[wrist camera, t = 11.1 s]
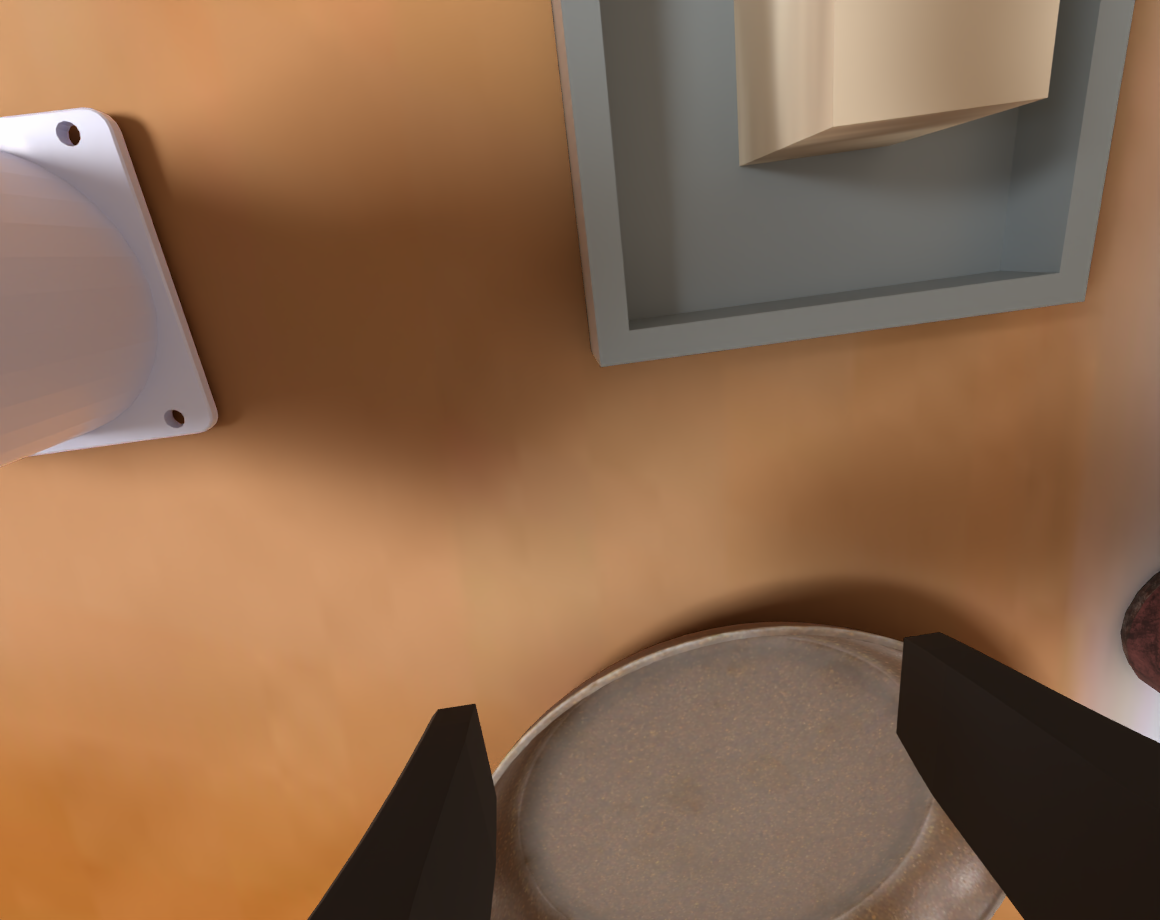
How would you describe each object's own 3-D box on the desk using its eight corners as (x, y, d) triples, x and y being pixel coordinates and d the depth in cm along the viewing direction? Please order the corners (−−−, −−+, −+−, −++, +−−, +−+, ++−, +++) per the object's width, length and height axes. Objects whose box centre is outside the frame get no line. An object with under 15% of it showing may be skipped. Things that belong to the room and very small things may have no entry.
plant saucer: (369, 698, 21) (341, 778, 18) (932, 491, 20) (1008, 537, 17) (575, 1016, 28) (581, 1113, 25) (996, 876, 27) (1058, 959, 24)
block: (739, 166, 15) (832, 126, 10) (732, -21, 14) (836, -162, 9) (889, 145, 15) (1047, 98, 11) (897, -42, 14) (1083, -192, 9)
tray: (591, 351, 17) (600, 366, 15) (525, -226, 13) (524, -335, 10) (1009, 295, 17) (1084, 301, 15) (1082, -283, 13) (1201, -400, 11)
